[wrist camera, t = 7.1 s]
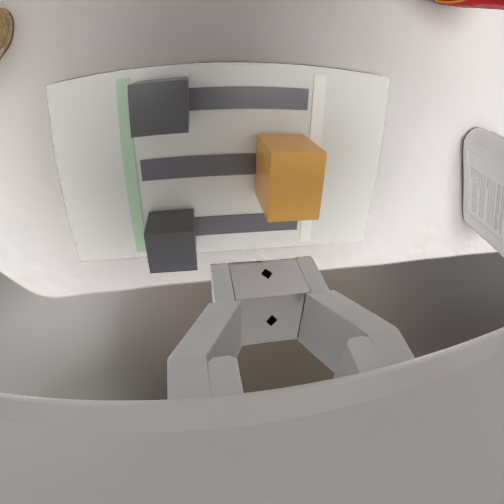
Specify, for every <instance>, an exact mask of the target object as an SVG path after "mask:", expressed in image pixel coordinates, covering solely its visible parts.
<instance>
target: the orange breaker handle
mask: <svg viewBox="0 0 504 504" xmlns="http://www.w3.org/2000/svg"><path fill="white" fill-rule="evenodd" d="M326 158H327V152H326V151H324V150H323V149H322V148H321V147H319V146H318V145H317V144H315V143H314V142H313V141H312V140H310V139H309V138H308V137H306V136H305V135H298V134H257V149H256V181H255V194H256V197H257V199H258V201H259V204H260V206H261V208H262V211H263V213H264V215H265V218H266V220H267V222H282V221H303V220H319V215H320V207H321V200H322V192H323V184H324V176H325V167H326Z"/></svg>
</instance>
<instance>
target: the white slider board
mask: <svg viewBox="0 0 504 504" xmlns="http://www.w3.org/2000/svg"><path fill="white" fill-rule="evenodd" d="M389 83H390V78H389V77H384V76H379V75H374V74H368V73H362V72H355V71H349V70H341V69H334V68H325V67H316V66H306V65H293V64H278V63H251V62H218V63H191V64H175V65H163V66H153V67H144V68H135V69H128V70H121V71H114V72H108V73H102V74H96V75H91V76H86V77H81V78H76V79H71V80H67V81H62V82H58V83H54V84H50V85H46V90H47V100H48V110H49V118H50V126H51V133H52V140H53V147H54V153H55V158H56V164H57V169H58V175H59V180H60V185H61V189H62V194H63V198H64V203H65V207H66V211H67V215H68V219H69V223H70V227H71V231H72V235H73V238H74V242H75V245H76V249H77V252H78V256H79V259H80V261H94V260H108V259H122V258H136V257H148V263H149V268H150V273H162V272H176V271H190V270H197V253H206V252H221V251H235V250H249V249H264V248H278V247H293V246H308V245H322V244H337V243H352V242H363V239H364V235H365V230H366V226H367V221H368V217H369V212H370V207H371V202H372V197H373V192H374V186H375V181H376V175H377V170H378V164H379V158H380V152H381V145H382V139H383V132H384V125H385V117H386V109H387V101H388V92H389ZM257 134H298V135H305V136H306V137H308V138H309V139H310V140H312V141H313V142H314V143H315V144H317V145H318V146H319V147H321V148H322V149H323V150H324V151H326V152H327V158H326V167H325V176H324V184H323V192H322V200H321V207H320V215H319V220H303V221H282V222H267V220H266V218H265V215H264V213H263V211H262V208H261V206H260V204H259V201H258V199H257V197H256V194H255V181H256V149H257Z"/></svg>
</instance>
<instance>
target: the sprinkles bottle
mask: <svg viewBox="0 0 504 504" xmlns="http://www.w3.org/2000/svg"><path fill="white" fill-rule="evenodd" d="M12 32H13V23H12V19H11V16H10V14H9V12H8V11H6V10H5V9H3V8H0V57H1V56H2V55H3V54H4V52H5V50H6V49H7V47H8V44H9V42H10V40H11V36H12Z"/></svg>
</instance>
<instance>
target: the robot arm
mask: <svg viewBox="0 0 504 504" xmlns="http://www.w3.org/2000/svg"><path fill="white" fill-rule="evenodd" d="M210 268H211V283H212V297H213V303H209V304H208V306H207V307H206V308H205V310H204V311H203V312H202V314H201V315H200V316H199V318H198V319H197V320H196V322H195V323H194V324H193V326H192V327H191V328H190V330H189V331H188V332H187V334H186V335H185V336H184V338H183V339H182V340H181V342H180V343H179V344H178V346H177V347H176V348H175V350H174V351H173V352H172V354H171V355H170V356H169V358H168V360H167V361H168V362H167V379H168V380H167V381H168V383H167V385H168V400H147V401H97V400H73V399H72V400H71V399H56V398H44V397H33V396H23V395H15V394H7V393H0V504H504V327H503V328H500V329H498V330H496V331H493V332H490V333H488V334H485V335H483V336H480V337H478V338H475V339H472V340H470V341H467V342H464V343H461V344H458V345H455V346H452V347H450V348H447V349H443V350H440V351H437V352H434V353H431V354H428V355H425V356H422V357H418V358H414V356H413V354H412V352H411V351H410V349H409V347H408V345H407V344H406V342H405V340H404V338H403V337H402V335H401V333H400V332H399V330H398V329H397V327H395V326H393V325H392V324H390V323H388V322H387V321H385V320H383V319H382V318H380V317H378V316H377V315H375V314H373V313H372V312H370V311H368V310H367V309H365V308H363V307H361V306H360V305H358V304H357V303H355V302H353V301H351V300H350V299H348V298H347V297H345V296H343V295H342V294H340V293H338V292H337V291H335V290H330V291H329V289H328V287H327V285H326V283H325V281H324V279H323V277H322V275H321V273H320V271H319V270H318V268H317V266H316V264H315V262H314V260H313V258H312V257H310V256H305V257H296V258H292V259H281V260H269V261H252V262H235V263H220V264H211V267H210ZM290 339H298V341H299V342H300V343H302V344H303V345H304V346H305V347H306V348H307V349H308V350H309V351H310V352H312V353H313V354H314V355H315V356H316V357H317V358H318V359H319V360H321V361H322V362H323V363H324V364H325V365H326V366H327V367H328V368H330V369H331V370H332V371H333V372H334V373H335V375H334V378H333V379H330V380H325V381H320V382H315V383H309V384H304V385H298V386H292V387H286V388H280V389H274V390H266V391H259V392H251V393H243V388H242V383H241V378H240V373H239V368H238V362H237V359H236V357H237V355H238V352H239V351H240V349H241V346H242V345H250V344H257V343H264V342H269V341H281V340H290Z"/></svg>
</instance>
